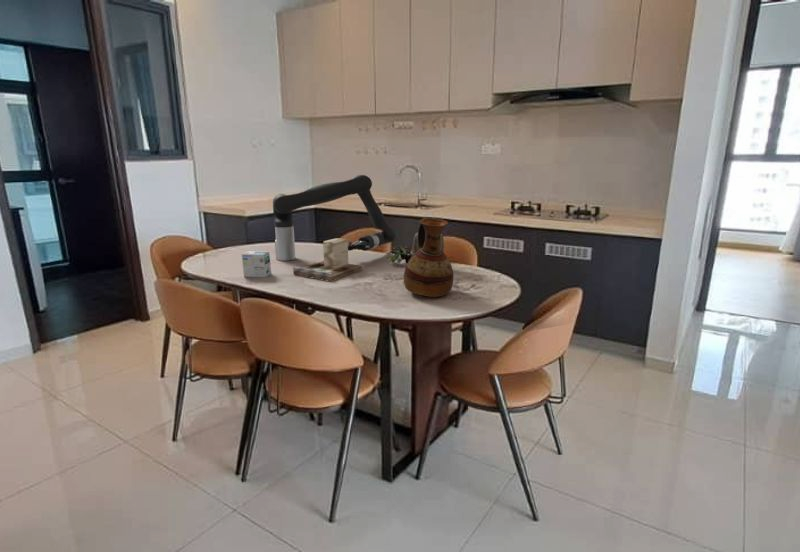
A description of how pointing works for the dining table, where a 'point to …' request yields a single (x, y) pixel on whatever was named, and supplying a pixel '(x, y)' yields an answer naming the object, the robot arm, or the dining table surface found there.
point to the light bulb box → (256, 264)
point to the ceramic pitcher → (429, 262)
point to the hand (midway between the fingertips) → (348, 248)
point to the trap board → (326, 271)
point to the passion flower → (402, 253)
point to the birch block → (335, 252)
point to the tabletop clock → (415, 242)
